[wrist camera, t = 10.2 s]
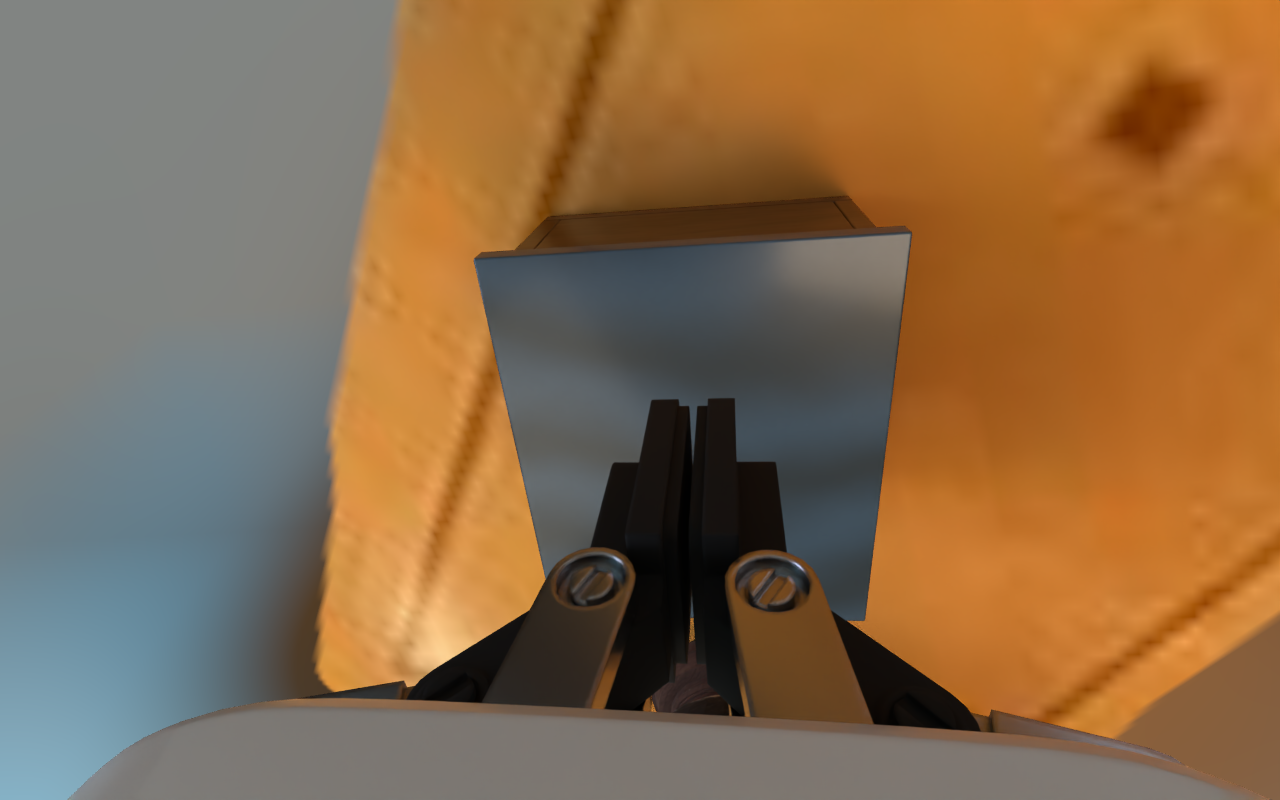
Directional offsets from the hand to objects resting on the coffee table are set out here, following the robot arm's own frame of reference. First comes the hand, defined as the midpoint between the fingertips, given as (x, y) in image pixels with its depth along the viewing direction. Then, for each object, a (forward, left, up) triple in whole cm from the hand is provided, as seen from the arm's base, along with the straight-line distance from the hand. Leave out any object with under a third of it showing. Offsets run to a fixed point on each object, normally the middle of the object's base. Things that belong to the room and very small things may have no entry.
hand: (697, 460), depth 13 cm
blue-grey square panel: (+6, -1, -9) cm, 11 cm away
